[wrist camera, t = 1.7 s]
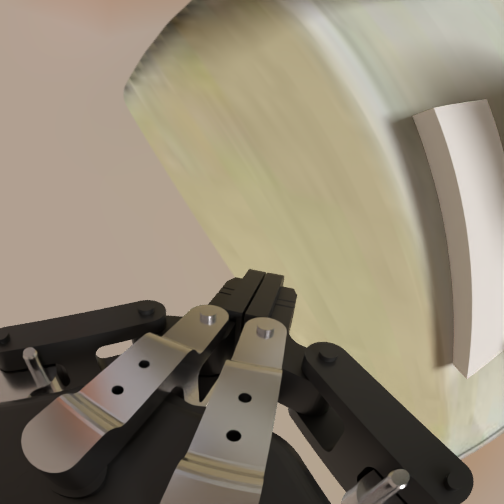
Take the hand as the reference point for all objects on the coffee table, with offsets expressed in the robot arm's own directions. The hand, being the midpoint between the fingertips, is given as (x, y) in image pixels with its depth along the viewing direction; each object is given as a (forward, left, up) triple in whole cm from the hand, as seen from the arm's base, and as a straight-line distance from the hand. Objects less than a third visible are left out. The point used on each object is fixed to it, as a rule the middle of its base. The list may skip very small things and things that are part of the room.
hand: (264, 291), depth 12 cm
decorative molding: (0, +24, -20) cm, 31 cm away
